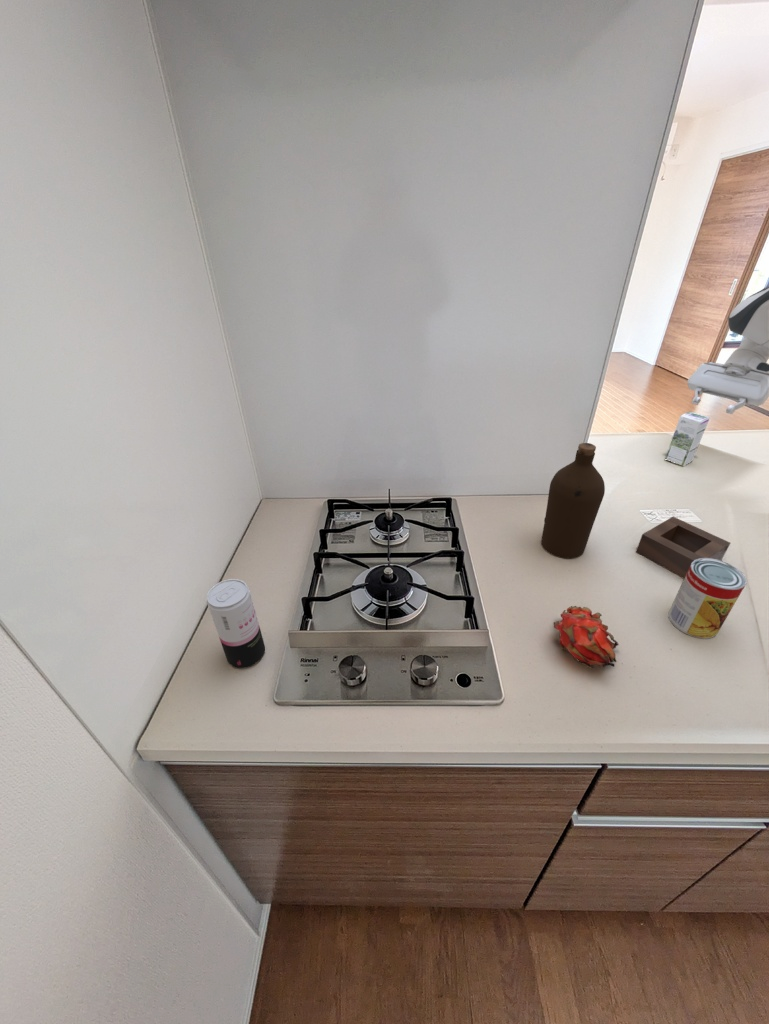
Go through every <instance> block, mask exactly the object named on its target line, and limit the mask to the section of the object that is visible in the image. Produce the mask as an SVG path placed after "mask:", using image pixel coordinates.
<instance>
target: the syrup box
mask: <svg viewBox="0 0 769 1024" xmlns="http://www.w3.org/2000/svg"><path fill="white" fill-rule="evenodd" d="M710 419H711V417H710V416H708V415H704V414H699V413H698V412H697V413H696V412H692V411H687V412H685V413H683V414H681V415H680V416H679V418H678V421H677V423H676V427H675V430H674V433H673V435H672V437H671V440H670V444H669V446H668V449H667V452H666V454H665V457H664V460H665V459H667V460H670V461H672V462H675V463H677V464H679V465H678V466H680V465H682V466H681V467H685V466H687V465H689V464H691V463H692V462H693V461H694V459H695V455H696V453H697V451H698V447H699V446H700V443H701V441H702V438H703V437H704V436H703V435H704V433H705V431H706V429H707V426H708V424H709V421H710ZM691 461H692V462H691ZM690 462H691V463H690ZM688 463H689V464H688ZM677 464H676V465H677ZM686 464H687V465H686ZM684 465H685V466H684Z"/></svg>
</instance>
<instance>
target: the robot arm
mask: <svg viewBox="0 0 769 1024" xmlns="http://www.w3.org/2000/svg"><path fill="white" fill-rule="evenodd" d="M727 323H728V329H729V331H730V332H731V333H735V334H737V335H738V336H742V337H744V338H743V339H742V340H741V342H740V344H739V346H738V347H737V348H736V349H735V350H733V352H732V353H731V354H730V355H729V357H728V358H727V360H726V361H725V362H724V363H718V362H714V361H708V362H703V363H701V364H700V365H699V366H698V367H697V369H696V370H695V372H693V374H691V376H689V378H688V379H687V380H686V381H687V383H686V384H687V388H688V389H689V390H691V391H694V397H693V398H692V399H691V404H692V405H695V406H698V405H699V404H700V403H701V402H702V399H701V396H702V394H706V395H710V396H715V397H719V398H722V399H727V400H731V401H736V402H737V403H735V404H732V405H730V404H729V405H728V407H727V408H726V411H725V413H726V414H730V415H733V414H734V413H735V412H736V410H739V409H741V408H743V407H745V406H746V404H748V405H751V406H755V407H759V406H761V405H764V404H765V403H766V401H767V400H768V399H769V363H768V361H769V284H768V285H767V286H765V287H764V288H762V289H761V290H759V291H757V292H755V293H753V294H751V295H749V296H748V297H746V298H745V299H743V300H742V301H741V302H739V303H738V304H737V305H736V306H735V307H734V308H733V310H732V311H731V313H730V314H729V315H728V318H727Z"/></svg>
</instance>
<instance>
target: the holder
mask: <svg viewBox="0 0 769 1024" xmlns="http://www.w3.org/2000/svg"><path fill="white" fill-rule="evenodd" d="M730 545H731V542H730V541H727V540H725V539H724V538H721V537H719V536H717V535H714V534H712V533H710V532H708V531H706V530H705V529H702V528H700V527H697V526H695V525H693V524H691V523H688V522H686V521H684V520H682V519H680V518H678V517H675V516H671V517H670V518H668V519H666V520H665V521H662V522H661V523H659V524H657V525H656V526H654V527H652V528H650V529H649V530H647V531H645V532H643V533H642V535H641V537H640V540H639V542H638V545H637V548H636V550H635V553H636V554H638V555H641V556H642V557H643V558H646V559H647V560H649V561H651V562H653V563H655V564H657V565H658V566H660V567H662V568H664V569H666V570H668V571H670V572H671V573H673V574H675V575H676V576H679V577H680V578H682V579H684V578H685V576H686V574H687V572H688V570H689V568H690V565H691V563H692V562H693V561H694V560H696V559H699V558H712V559H717V560H720V561H723V558H724V557H725V554H726V553H727V551H728V549H729V547H730Z"/></svg>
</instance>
